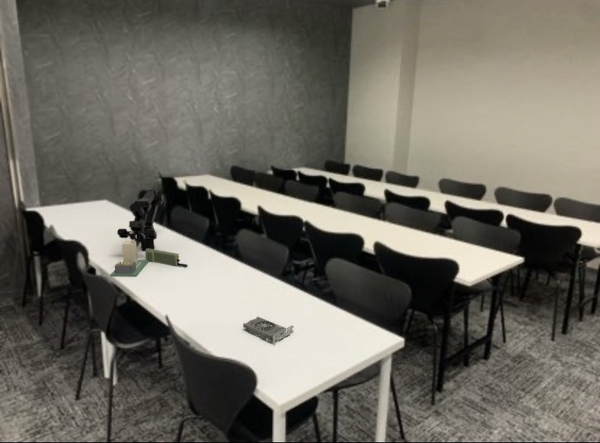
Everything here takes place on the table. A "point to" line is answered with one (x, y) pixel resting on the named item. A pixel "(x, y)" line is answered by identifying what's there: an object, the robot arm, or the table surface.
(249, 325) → the graphics card
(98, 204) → the table surface
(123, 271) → the board
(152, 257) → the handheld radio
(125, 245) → the plug
